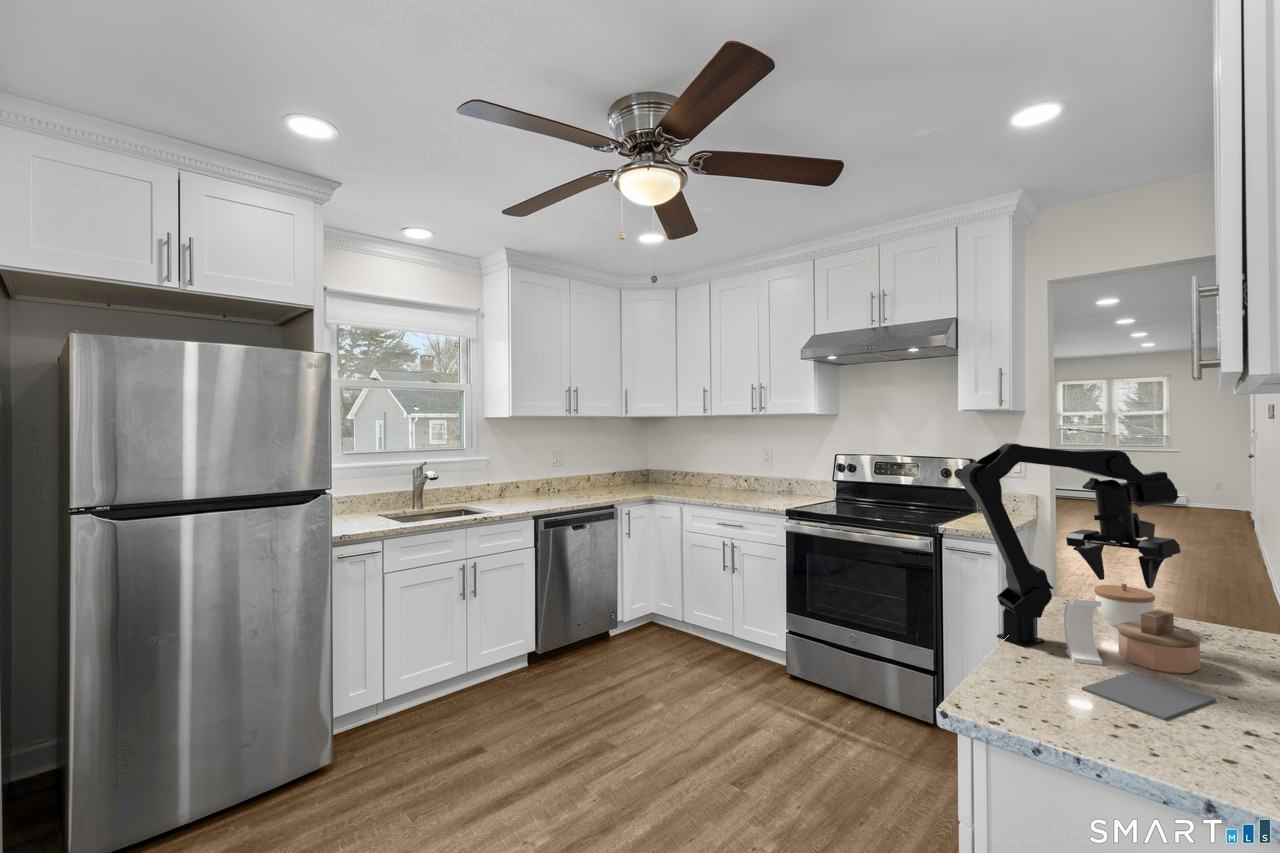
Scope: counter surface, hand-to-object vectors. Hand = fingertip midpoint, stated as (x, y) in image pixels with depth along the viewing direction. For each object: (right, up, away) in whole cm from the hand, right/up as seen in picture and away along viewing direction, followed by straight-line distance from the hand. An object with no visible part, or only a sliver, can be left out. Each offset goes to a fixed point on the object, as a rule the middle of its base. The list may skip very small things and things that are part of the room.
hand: (1125, 583), depth 124 cm
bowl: (-1, -13, -9) cm, 16 cm away
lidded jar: (+10, -13, +12) cm, 20 cm away
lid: (-1, -8, -9) cm, 12 cm away
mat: (-15, -13, -23) cm, 30 cm away
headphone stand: (-13, -13, -6) cm, 20 cm away
